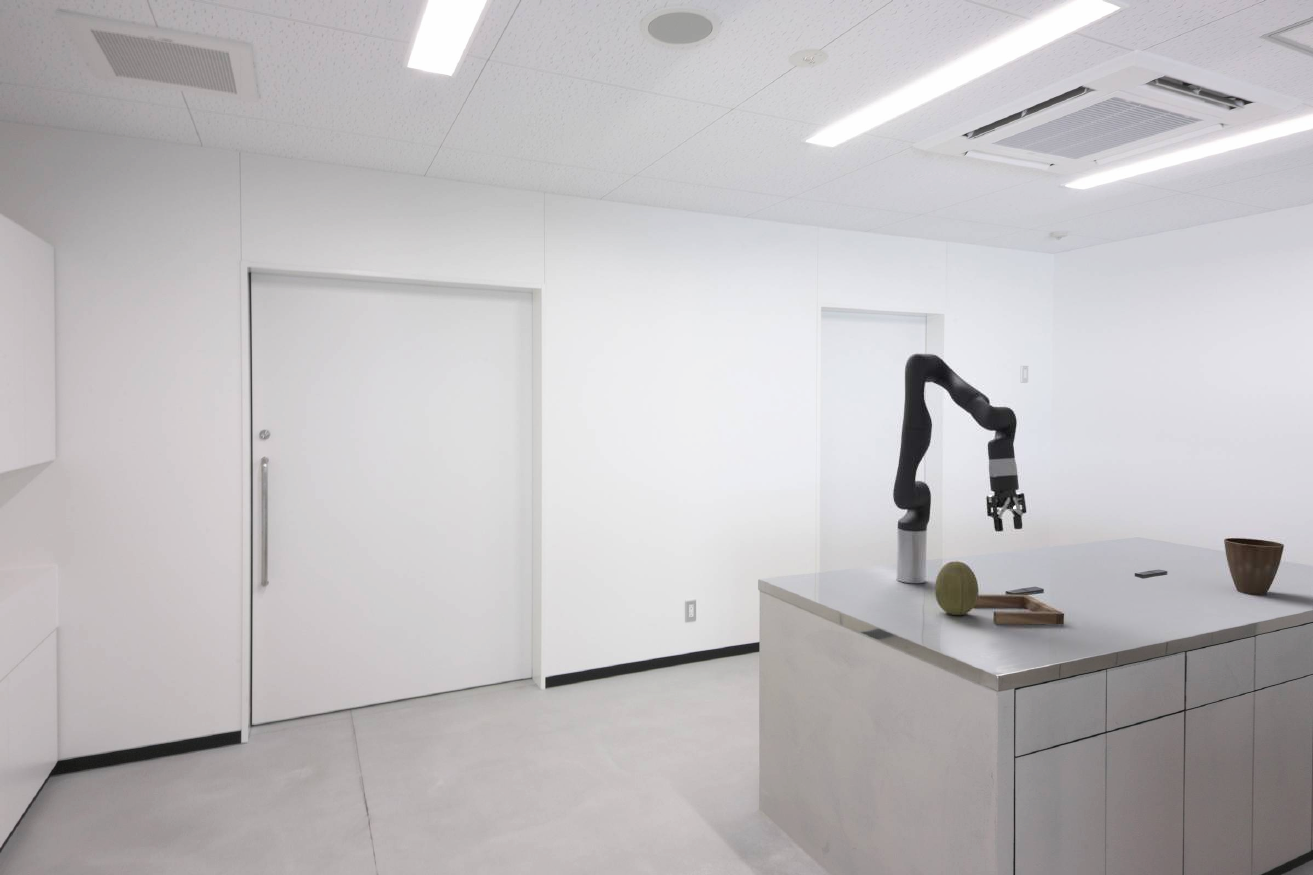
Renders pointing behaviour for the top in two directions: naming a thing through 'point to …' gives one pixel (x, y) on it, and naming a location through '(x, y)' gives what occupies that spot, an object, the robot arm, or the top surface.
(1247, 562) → the plant pot
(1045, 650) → the top surface
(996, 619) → the walnut bay
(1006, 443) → the robot arm
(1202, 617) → the top surface
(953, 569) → the fruit
